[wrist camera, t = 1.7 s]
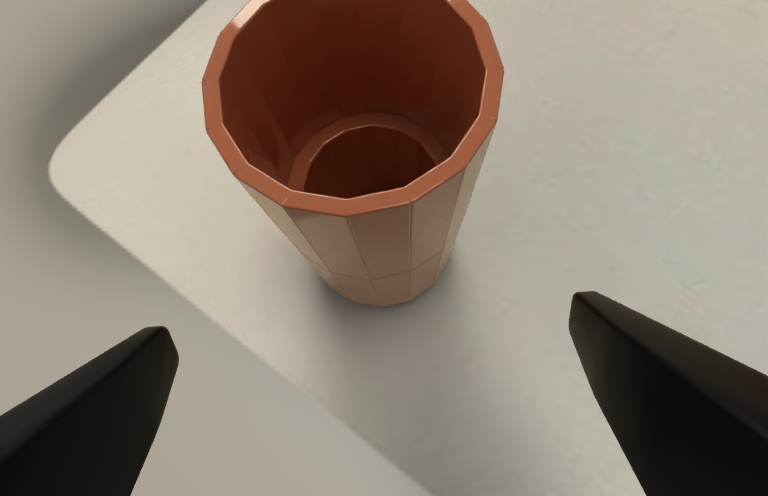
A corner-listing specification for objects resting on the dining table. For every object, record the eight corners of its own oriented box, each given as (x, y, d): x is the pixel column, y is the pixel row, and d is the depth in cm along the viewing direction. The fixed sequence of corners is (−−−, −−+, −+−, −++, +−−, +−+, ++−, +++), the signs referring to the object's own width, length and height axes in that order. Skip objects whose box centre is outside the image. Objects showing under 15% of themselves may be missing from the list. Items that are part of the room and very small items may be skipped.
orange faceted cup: (438, 320, 21) (481, 239, 9) (299, 293, 22) (160, 186, 10) (459, 189, 23) (517, -26, 11) (331, 169, 24) (249, -52, 12)
